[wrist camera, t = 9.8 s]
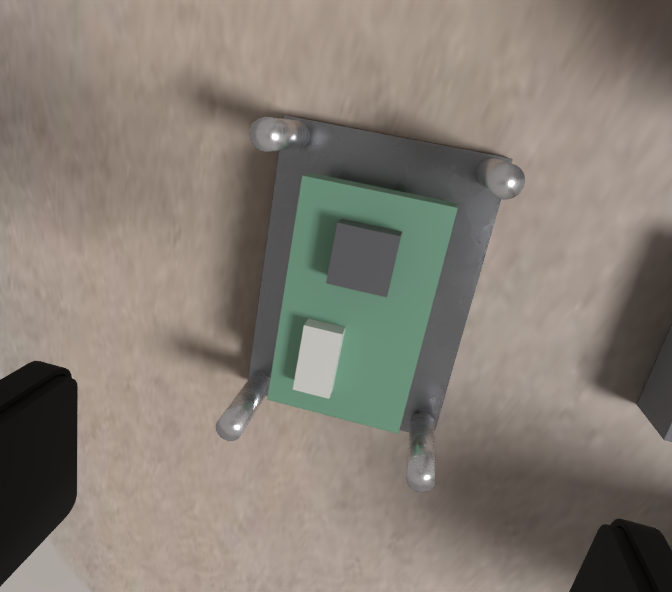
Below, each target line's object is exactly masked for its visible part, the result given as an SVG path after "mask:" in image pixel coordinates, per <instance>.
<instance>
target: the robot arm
mask: <svg viewBox="0 0 672 592" xmlns="http://www.w3.org/2000/svg"><path fill="white" fill-rule="evenodd" d="M77 388H78V387H77V382H76V380H74V379H72V377H71V373H70V371H69V370H68V369H66V368H63V367H59V366H56V365H52V364H48V363H45V362H41V361H33V362H31V363H28V364H27V365H25V366H23V367H21V368H20V369H18V370H16V371H15V372H13V373H11V374H9V375H8V376H6V377H4V378H3V379H1V380H0V586H1V585H2V584H3V583H4V582H5V581H6V580H7V579H8V578H9V577H10V576H11V575H12V573H13V572H14V571H15V570H16V569H17V568H18V567H19V566H20V565H21V564H22V563H23V562H24V561H25V560H26V559H27V557H29V556H30V554H31V553H32V552H33V551H34V550H35V549H36V548H37V547H38V546H39V545H40V544H41V543H42V542H43V541H44V540H45V539H46V538H47V536H48V535H49V534H50V533H51V532H52V531H53V530H54V529H55V528H56V527H57V526H58V525H59V524H60V523H61V522H62V521H63V520H64V518H65V517H66V516H67V515H68V514H69V513H70V511H71V509H72V508H73V505H74V503H75V500H76V496H77ZM569 592H672V550H671V549H670V547H669V545H668V543H667V541H666V540H665V538H664V536H663V535H662V533H661V532H660V531H659V530H657V529H656V528H653V527H649V526H645V525H642V524H638V523H634V522H631V521H627V520H623V519H616V520H614V521H613V522H612V524H611V525H602V526H601V527H600V528H599V530H598V532H597V534H596V536H595V538H594V540H593V542H592V545H591V547H590V549H589V551H588V553H587V555H586V557H585V559H584V562H583V564H582V566H581V568H580V570H579V572H578V574H577V576H576V579H575V581H574V583H573V585H572V587H571V589H570V591H569Z"/></svg>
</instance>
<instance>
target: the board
mask: <svg viewBox="0 0 672 592" xmlns="http://www.w3.org/2000/svg"><path fill="white" fill-rule="evenodd" d="M457 209H458V207H457V205H456V203H454V202H449V201H444V200H440V199H435V198H430V197H425V196H420V195H415V194H411V193H406V192H401V191H396V190H391V189H387V188H382V187H377V186H372V185H367V184H362V183H358V182H353V181H348V180H343V179H338V178H333V177H329V176H324V175H319V174H314V173H309V174H306V175H303V176H302V181H301V187H300V194H299V200H298V206H297V213H296V219H295V226H294V232H293V238H292V245H291V251H290V257H289V264H288V270H287V277H286V283H285V289H284V296H283V302H282V309H281V315H280V321H279V328H278V334H277V340H276V347H275V353H274V360H273V366H272V372H271V379H270V385H269V392H268V398H267V400H271V401H275V402H278V403H282V404H286V405H290V406H294V407H298V408H302V409H305V410H309V411H313V412H317V413H321V414H325V415H328V416H332V417H336V418H340V419H344V420H348V421H351V422H355V423H359V424H363V425H367V426H371V427H375V428H378V429H382V430H386V431H390V432H394V433H399V430H400V426H401V422H402V418H403V414H404V411H405V407H406V403H407V399H408V395H409V392H410V388H411V384H412V380H413V376H414V373H415V369H416V365H417V361H418V357H419V354H420V350H421V346H422V342H423V338H424V335H425V331H426V327H427V323H428V319H429V316H430V312H431V308H432V304H433V300H434V297H435V293H436V289H437V285H438V281H439V278H440V274H441V270H442V266H443V262H444V259H445V255H446V251H447V247H448V243H449V240H450V236H451V232H452V228H453V224H454V221H455V217H456V213H457Z"/></svg>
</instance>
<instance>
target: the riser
mask: <svg viewBox="0 0 672 592" xmlns="http://www.w3.org/2000/svg"><path fill="white" fill-rule="evenodd" d="M637 406H638V407H639V408H640V409H641V411H642V412H643V413H644V415H645V416H646V417H647V419H648V420H649V421H650V422H651V424H652V425H653V426H654V428H655V429H656V430H657V432H658V433H659V434H660V435H661V437H662V438H663V439H664V440H666V441H671V442H672V325H671V327H670V329H669V332H668V334H667V336H666V339H665V341H664V343H663V345H662V348H661V350H660V352H659V355H658V357H657V359H656V362H655V364H654V366H653V368H652V371H651V373H650V375H649V378H648V380H647V382H646V385H645V387H644V389H643V392H642V394H641V396H640V398H639V401H638V403H637Z"/></svg>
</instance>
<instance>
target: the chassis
mask: <svg viewBox="0 0 672 592" xmlns="http://www.w3.org/2000/svg"><path fill="white" fill-rule="evenodd" d="M250 139H251V141H252V143H253V145H254V146H255V147H256V148H257V149H259V150H261V151H264V152H270V151H279V155H278V162H277V170H276V177H275V184H274V192H273V199H272V206H271V214H270V221H269V228H268V236H267V243H266V251H265V258H264V265H263V273H262V280H261V287H260V295H259V302H258V309H257V317H256V324H255V332H254V339H253V346H252V354H251V361H250V368H249V376H248V381H247V382H246V384H245V385H244V386H243V388H242V389H241V390H240V392H239V393H238V394H237V396H236V397H235V398H234V400H233V401H232V403H231V404H230V405H229V407H228V408H227V409H226V411H225V412H224V413H223V415H222V416H221V417H220V419H219V420H218V421H217V423H216V431H217V433H218V435H219V436H220V437H221V438H223V439H225V440H227V441H234V440H237V439H238V438H239V437H240V436H241V434H242V433H243V431H244V429H245V428H246V426H247V425H248V423H249V421H250V420H251V418H252V417H253V415H254V414H255V412H256V410H257V409H258V407H259V406H260V404H261V402H262V401H263V399H264V398H265V396H268V392H269V385H270V379H271V372H272V366H273V360H274V353H275V347H276V340H277V334H278V328H279V321H280V315H281V309H282V302H283V296H284V289H285V283H286V277H287V270H288V264H289V257H290V251H291V245H292V238H293V232H294V226H295V219H296V213H297V206H298V200H299V194H300V187H301V181H302V176H303V175H306V174H309V173H314V174H319V175H324V176H329V177H333V178H338V179H343V180H348V181H353V182H358V183H362V184H367V185H372V186H377V187H382V188H387V189H391V190H396V191H401V192H406V193H411V194H415V195H420V196H425V197H430V198H435V199H440V200H444V201H449V202H454V203H456V205H457V207H458V209H457V213H456V217H455V221H454V224H453V228H452V232H451V236H450V240H449V243H448V247H447V251H446V255H445V259H444V262H443V266H442V270H441V274H440V278H439V281H438V285H437V289H436V293H435V297H434V300H433V304H432V308H431V312H430V316H429V319H428V323H427V327H426V331H425V335H424V338H423V342H422V346H421V350H420V354H419V357H418V361H417V365H416V369H415V373H414V376H413V380H412V384H411V388H410V392H409V395H408V399H407V403H406V407H405V411H404V414H403V418H402V422H401V426H400V430H402V431H406V432H410V435H409V449H408V464H407V484H408V485H409V487H410V488H411V489H413V490H415V491H417V492H427V491H429V490H431V489H432V488H433V487H434V485H435V434H434V432H435V428H436V425H437V421H438V418H439V414H440V411H441V407H442V404H443V400H444V397H445V393H446V390H447V386H448V383H449V379H450V376H451V372H452V369H453V365H454V362H455V358H456V355H457V351H458V348H459V344H460V341H461V338H462V334H463V331H464V327H465V324H466V320H467V317H468V313H469V310H470V306H471V303H472V299H473V296H474V292H475V289H476V285H477V282H478V278H479V275H480V271H481V268H482V264H483V261H484V257H485V254H486V250H487V247H488V243H489V240H490V236H491V233H492V229H493V226H494V222H495V219H496V215H497V212H498V208H499V205H500V201H501V199H511V198H513V197H515V196H517V195H518V194H519V193H520V192H521V191H522V189H523V187H524V183H525V177H524V173H523V171H522V170H521V169H520V168H519V167H518V166H516V165H514V164H511V163H512V159H511V158H507V157H501V156H496V155H491V154H486V153H480V152H475V151H470V150H465V149H460V148H454V147H449V146H444V145H439V144H433V143H428V142H423V141H418V140H412V139H407V138H402V137H397V136H392V135H386V134H381V133H376V132H371V131H365V130H360V129H355V128H350V127H345V126H339V125H334V124H329V123H324V122H318V121H313V120H308V119H303V118H297V117H292V116H286V115H284V118H283V119H281V118H273V117H261V118H258V119H257V120H255V121H254V123H253V124H252V126H251V128H250Z"/></svg>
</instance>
